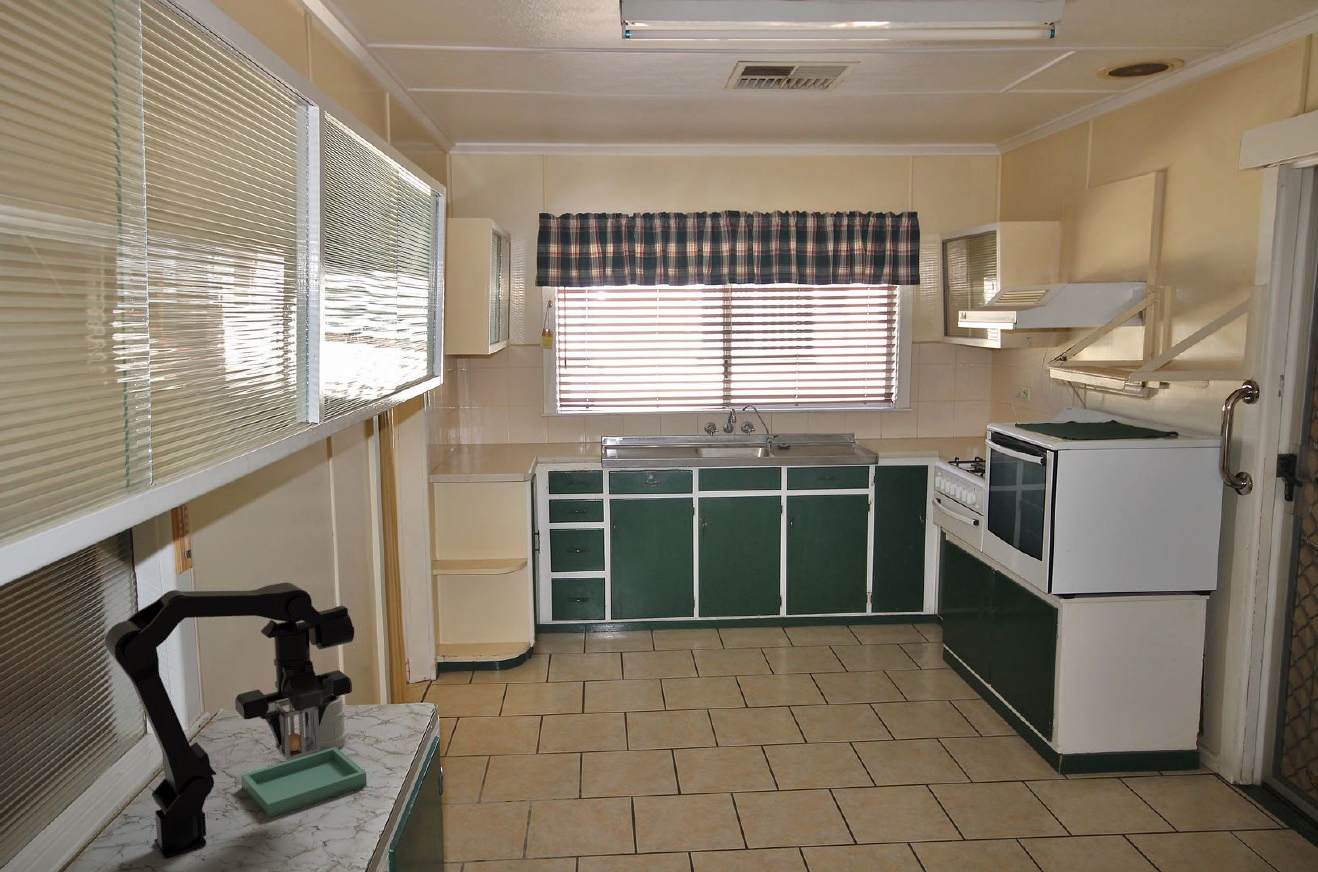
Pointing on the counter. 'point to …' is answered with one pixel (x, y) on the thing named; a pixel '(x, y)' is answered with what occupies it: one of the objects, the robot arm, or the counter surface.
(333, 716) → the mug
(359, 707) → the counter surface
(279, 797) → the tray
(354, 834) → the counter surface
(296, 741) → the ball
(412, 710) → the counter surface
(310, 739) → the cage
